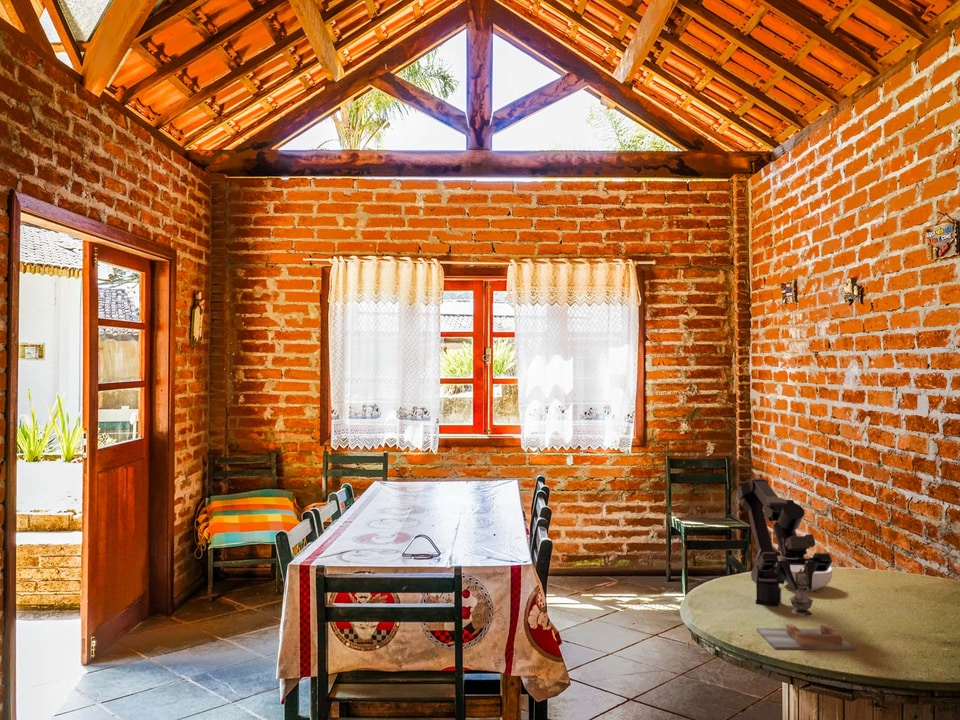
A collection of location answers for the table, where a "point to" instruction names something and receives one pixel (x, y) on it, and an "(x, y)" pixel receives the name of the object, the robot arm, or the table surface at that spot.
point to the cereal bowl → (814, 576)
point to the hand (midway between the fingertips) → (803, 589)
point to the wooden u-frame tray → (805, 638)
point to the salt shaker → (801, 596)
